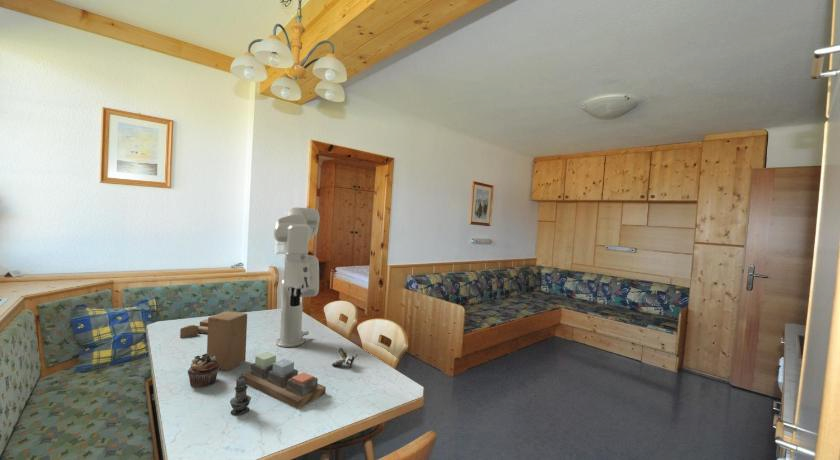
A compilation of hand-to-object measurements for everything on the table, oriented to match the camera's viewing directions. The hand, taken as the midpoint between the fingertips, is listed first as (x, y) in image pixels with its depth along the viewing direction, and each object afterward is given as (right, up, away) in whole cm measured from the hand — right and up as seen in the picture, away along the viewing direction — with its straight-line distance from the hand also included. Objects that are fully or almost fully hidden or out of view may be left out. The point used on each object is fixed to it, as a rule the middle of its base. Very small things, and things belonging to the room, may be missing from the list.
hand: (294, 305), depth 132 cm
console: (-1, -27, -8) cm, 29 cm away
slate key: (-1, -22, -9) cm, 24 cm away
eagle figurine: (+16, -28, +13) cm, 34 cm away
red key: (+7, -25, -14) cm, 30 cm away
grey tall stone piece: (-8, -28, -24) cm, 38 cm away
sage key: (-10, -22, -4) cm, 24 cm away
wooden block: (-30, -25, +7) cm, 40 cm away
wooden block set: (-57, -23, +40) cm, 74 cm away
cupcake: (-30, -26, -8) cm, 40 cm away
